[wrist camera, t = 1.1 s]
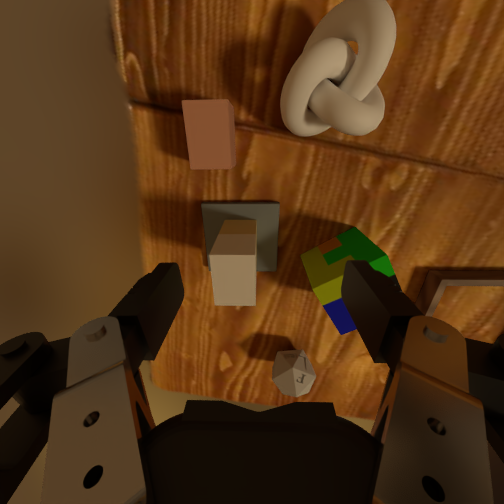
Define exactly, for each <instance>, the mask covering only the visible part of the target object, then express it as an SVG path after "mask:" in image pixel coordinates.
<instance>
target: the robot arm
mask: <svg viewBox="0 0 504 504" xmlns="http://www.w3.org/2000/svg"><path fill="white" fill-rule="evenodd" d="M341 297H342V300H343V302H344V304H345V306H346V308H347V310H348V312H349V314H350V316H351V318H352V320H353V322H354V324H355V326H356V328H357V330H358V332H359V334H360V336H361V338H362V340H363V342H364V344H365V346H366V348H367V350H368V351H369V353H370V355H371V357H372V359H373V361H374V363H387V364H388V366H389V368H390V370H389V372H388V375H387V378H386V382H385V386H384V389H383V393H382V397H381V401H380V404H379V408H378V412H377V415H376V419H375V422H374V425H373V428H372V431H371V433H368V432H367V431H365V430H364V429H363V428H361V427H359V426H358V425H356V424H354V423H353V422H351V421H349V420H346V419H344V418H342V417H339V416H336V413H335V409H334V405H333V403H331V402H294V403H290V404H287V405H283V406H280V407H276V408H273V409H269V410H266V411H262V412H256V411H252V410H249V409H246V408H243V407H240V406H237V405H234V404H231V403H227V402H224V401H208V400H205V401H204V400H187V402H186V405H185V409H184V413H181V414H179V415H176V416H174V417H172V418H169V419H168V420H166V421H164V422H162V423H160V424H159V425H157V426H156V425H155V423H154V420H153V417H152V414H151V410H150V407H149V402H148V399H147V395H146V391H145V387H144V383H143V379H142V375H141V372H140V369H139V366H140V364H141V362H142V361H143V360H155V358H156V356H157V354H158V351H159V349H160V347H161V345H162V343H163V341H164V339H165V337H166V335H167V333H168V331H169V329H170V327H171V324H172V322H173V320H174V318H175V316H176V314H177V312H178V310H179V308H180V306H181V304H182V301H183V298H184V287H183V283H182V279H181V274H180V270H179V266H178V264H177V263H159V264H158V265H157V267H156V268H155V269H154V270H153V271H152V273H148V274H147V275H145V276H144V277H142V278H141V279H139V280H138V281H137V283H136V284H135V285H134V286H133V288H131V289H130V291H129V292H128V294H127V295H125V296H124V298H123V299H122V300H121V301H120V302H119V303H118V304H117V306H116V307H115V308H114V309H113V310H112V312H111V313H110V314H109V315H108V316H107V317H101V318H97V319H94V320H92V321H90V322H88V323H86V324H84V325H83V326H81V327H80V328H79V329H78V330H76V331H75V333H74V334H73V335H72V336H71V337H69V338H65V339H60V340H56V341H52V342H48V341H47V339H46V338H45V336H44V335H43V334H42V333H40V332H30V333H26V334H23V335H20V336H17V337H15V338H13V339H11V340H8V341H6V342H5V343H3V344H1V345H0V409H1V408H2V407H3V406H4V405H5V404H6V403H7V402H8V400H9V399H10V398H11V397H13V398H14V399H15V400H16V401H17V402H18V403H19V404H20V406H19V407H18V408H17V410H16V411H15V412H14V413H13V414H12V415H11V416H10V418H9V419H8V420H7V421H6V422H5V423H4V425H3V426H2V427H1V428H0V504H7V502H8V501H9V500H10V498H11V497H12V495H13V493H14V492H15V490H16V489H17V487H18V486H19V484H20V483H21V481H22V480H23V478H24V477H25V475H26V474H27V472H28V471H29V469H30V467H31V466H32V465H33V463H34V462H35V460H36V458H37V457H38V455H39V454H40V452H41V451H42V449H43V448H44V446H45V445H46V443H47V442H48V445H47V454H46V463H45V470H44V478H43V487H42V495H41V504H494V502H493V494H492V485H491V475H490V465H489V456H488V446H487V440H488V442H489V443H490V445H491V446H492V447H493V449H494V450H495V452H496V453H497V455H498V456H499V458H500V459H501V460H502V462H503V463H504V334H502V335H500V336H499V337H498V339H497V340H496V341H495V343H494V344H490V343H486V342H481V341H477V340H472V339H468V338H464V337H463V335H462V334H461V333H460V332H459V331H458V330H457V329H456V328H454V327H453V326H451V325H450V324H448V323H446V322H444V321H442V320H440V319H437V318H434V317H430V316H425V315H424V314H423V313H422V312H421V311H420V310H419V309H418V308H417V306H416V305H415V304H414V303H413V302H412V301H411V300H410V299H409V298H408V297H407V296H406V295H405V294H404V293H402V290H401V289H400V288H399V287H398V286H396V284H395V283H394V282H393V281H392V280H391V279H390V277H388V276H387V275H385V274H383V273H382V272H380V271H378V270H374V269H373V268H372V266H371V265H370V264H369V263H368V262H367V261H366V260H348V261H347V262H346V264H345V269H344V275H343V280H342V285H341Z"/></svg>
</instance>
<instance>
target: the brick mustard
mask: <svg viewBox="0 0 504 504" xmlns="http://www.w3.org/2000/svg"><path fill="white" fill-rule="evenodd" d="M219 234H256V262H257V220H225V221H224V223H223V225H222V227H221V230H220V232H219Z"/></svg>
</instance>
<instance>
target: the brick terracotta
mask: <svg viewBox="0 0 504 504" xmlns="http://www.w3.org/2000/svg"><path fill="white" fill-rule="evenodd" d="M182 107H183V115H184V122H185V130H186V137H187V145H188V153H189V160H190V168H191V169H232V168H233V167H234V166H235V165H236V152H235V128H234V107H233V106H232V105H231V103H230V102H229V100H228V99H219V100H182Z"/></svg>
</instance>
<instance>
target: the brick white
mask: <svg viewBox="0 0 504 504" xmlns="http://www.w3.org/2000/svg"><path fill="white" fill-rule="evenodd" d="M209 258H210V267H211V276H212V284H213V293H214V302H215V305H236V306H255V304H256V234H218V236H217V239H216V241H215V243H214V245H213V247H212V250H211V252H210V254H209Z"/></svg>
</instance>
